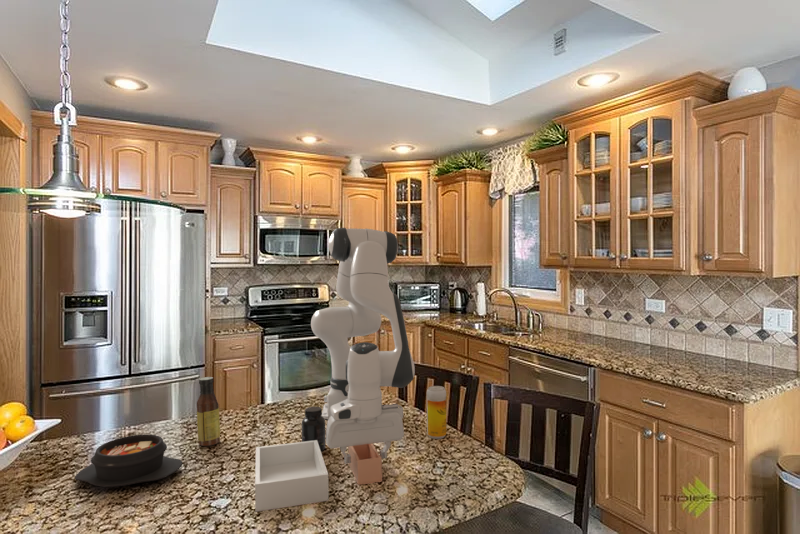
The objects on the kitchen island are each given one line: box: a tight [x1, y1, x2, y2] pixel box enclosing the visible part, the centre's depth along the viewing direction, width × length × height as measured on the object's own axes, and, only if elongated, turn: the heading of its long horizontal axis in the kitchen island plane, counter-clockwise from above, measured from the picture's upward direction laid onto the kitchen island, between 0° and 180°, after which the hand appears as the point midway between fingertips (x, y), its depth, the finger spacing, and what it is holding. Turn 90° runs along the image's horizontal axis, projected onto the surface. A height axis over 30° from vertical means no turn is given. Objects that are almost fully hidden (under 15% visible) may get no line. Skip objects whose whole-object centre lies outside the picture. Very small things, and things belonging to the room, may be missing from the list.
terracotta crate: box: [347, 443, 383, 486], centre depth 122 cm, size 13×6×6 cm, turn 16°
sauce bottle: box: [196, 376, 221, 447], centre depth 143 cm, size 7×6×20 cm
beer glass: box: [426, 385, 448, 440], centre depth 147 cm, size 6×6×15 cm
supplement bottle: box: [301, 406, 326, 453], centre depth 137 cm, size 7×7×12 cm
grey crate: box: [254, 440, 330, 512], centre depth 116 cm, size 22×16×6 cm
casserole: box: [74, 434, 183, 488], centre depth 121 cm, size 25×19×8 cm
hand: (365, 460), depth 122 cm, fingers open, 8 cm apart
